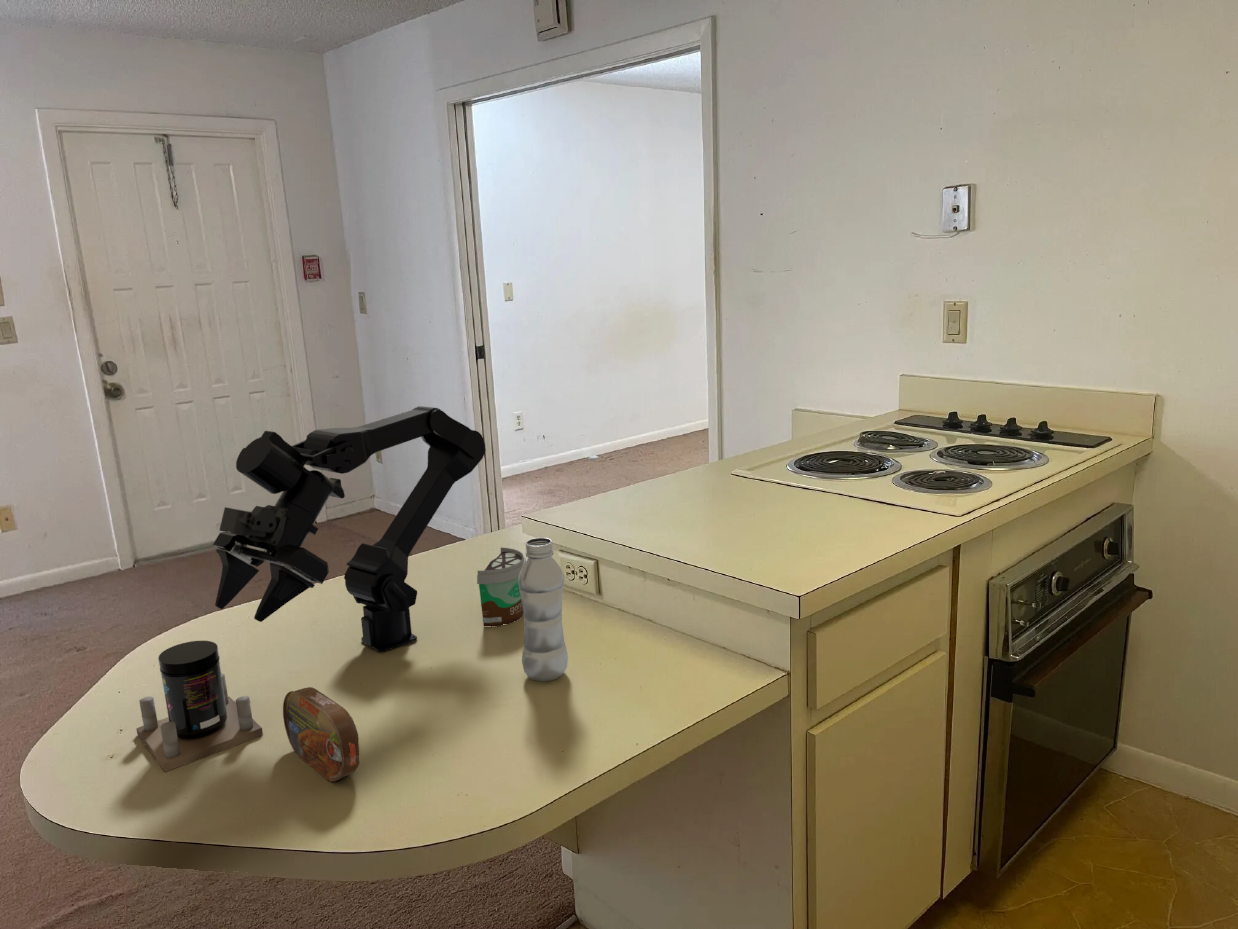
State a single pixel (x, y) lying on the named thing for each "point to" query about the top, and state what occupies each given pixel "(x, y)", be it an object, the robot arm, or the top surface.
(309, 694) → the tin
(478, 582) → the food container
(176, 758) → the cradle
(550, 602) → the plastic bottle
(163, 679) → the supplement container
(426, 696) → the top surface
